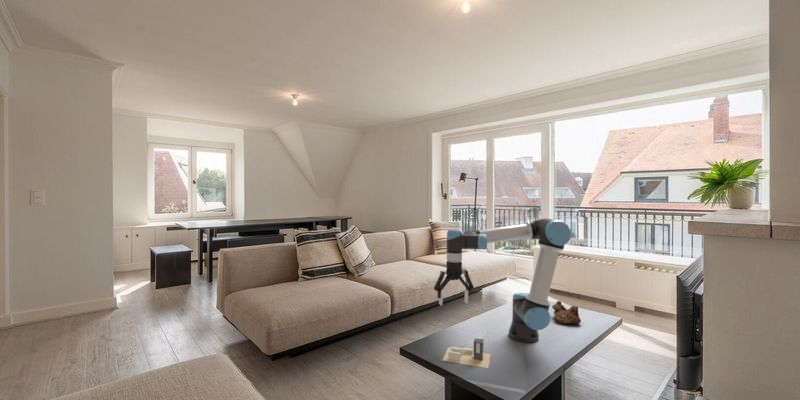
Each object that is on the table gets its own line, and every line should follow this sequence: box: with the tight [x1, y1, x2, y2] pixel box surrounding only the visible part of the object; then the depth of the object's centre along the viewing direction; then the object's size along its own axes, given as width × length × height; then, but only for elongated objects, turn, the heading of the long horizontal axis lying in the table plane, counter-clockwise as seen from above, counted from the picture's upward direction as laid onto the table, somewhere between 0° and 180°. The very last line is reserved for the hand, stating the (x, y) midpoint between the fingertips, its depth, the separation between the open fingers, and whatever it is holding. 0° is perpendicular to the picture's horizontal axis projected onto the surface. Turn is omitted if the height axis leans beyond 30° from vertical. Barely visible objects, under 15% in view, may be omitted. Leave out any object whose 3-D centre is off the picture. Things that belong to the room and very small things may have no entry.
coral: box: [551, 300, 582, 324], centre depth 210 cm, size 18×13×15 cm
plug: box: [473, 337, 485, 361], centre depth 157 cm, size 4×5×8 cm
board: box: [442, 346, 492, 369], centre depth 159 cm, size 20×14×4 cm
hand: (453, 303), depth 171 cm, fingers open, 13 cm apart
